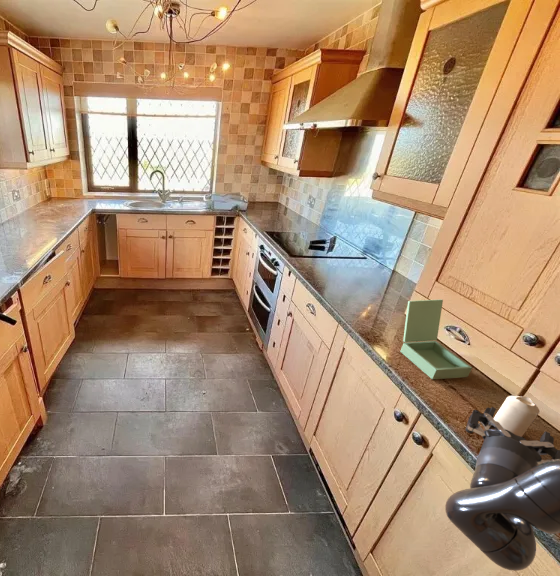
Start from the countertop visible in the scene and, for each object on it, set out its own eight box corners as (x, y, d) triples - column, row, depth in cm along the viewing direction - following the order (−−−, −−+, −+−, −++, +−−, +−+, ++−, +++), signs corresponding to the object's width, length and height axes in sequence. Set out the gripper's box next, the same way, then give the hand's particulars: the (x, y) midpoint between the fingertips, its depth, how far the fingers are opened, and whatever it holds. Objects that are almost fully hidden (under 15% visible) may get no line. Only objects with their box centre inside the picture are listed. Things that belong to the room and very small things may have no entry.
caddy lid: (443, 299, 100) (431, 296, 104) (409, 301, 100) (399, 298, 104) (437, 340, 103) (426, 335, 107) (404, 342, 102) (394, 337, 107)
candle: (499, 417, 80) (517, 388, 76) (526, 434, 75) (548, 405, 71) (486, 423, 78) (504, 395, 74) (513, 441, 74) (535, 412, 69)
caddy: (467, 377, 93) (472, 367, 92) (432, 379, 93) (436, 369, 91) (431, 349, 105) (435, 340, 103) (400, 351, 105) (403, 342, 103)
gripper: (571, 483, 53) (575, 431, 62) (465, 429, 63) (482, 391, 72) (548, 507, 57) (555, 455, 66) (451, 452, 67) (469, 413, 76)
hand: (517, 421), depth 69 cm, fingers open, 8 cm apart
